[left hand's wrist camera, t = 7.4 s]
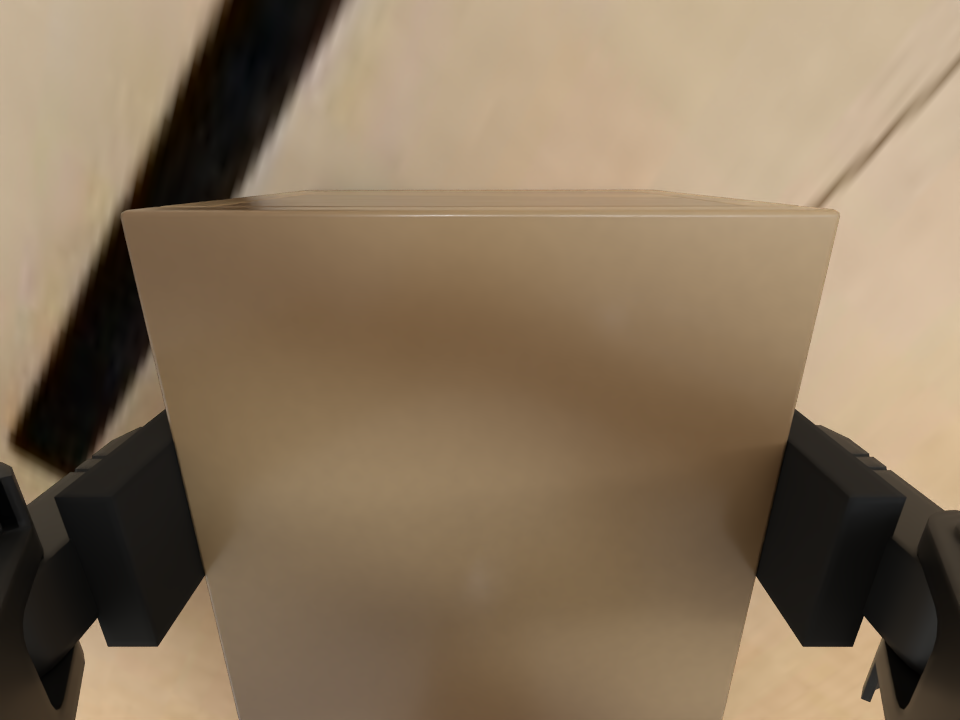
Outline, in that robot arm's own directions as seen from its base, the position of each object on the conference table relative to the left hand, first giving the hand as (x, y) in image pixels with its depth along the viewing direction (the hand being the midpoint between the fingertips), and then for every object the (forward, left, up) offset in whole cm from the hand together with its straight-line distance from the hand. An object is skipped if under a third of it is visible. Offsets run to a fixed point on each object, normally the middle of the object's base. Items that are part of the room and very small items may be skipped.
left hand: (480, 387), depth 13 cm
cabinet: (+6, -2, -3) cm, 7 cm away
